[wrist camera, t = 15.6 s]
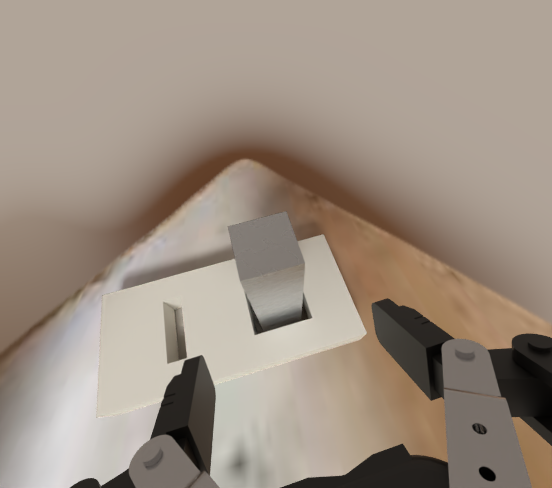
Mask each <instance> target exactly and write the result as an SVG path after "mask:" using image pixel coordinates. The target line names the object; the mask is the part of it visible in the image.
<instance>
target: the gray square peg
mask: <svg viewBox="0 0 552 488" xmlns="http://www.w3.org/2000/svg"><path fill="white" fill-rule="evenodd" d="M228 230H229V234H230V239H231V243H232V248H233V252H234V257H235V261H236V266H237V270H238V275H239V279H240V282H241V285H242V287H243V289H244V291H245V293H246V295H247V297H248V299H249V301H250V303H251V306H252V308H253V310H254V312H255V314H256V316H257V318H258V320H259V322H260V324H261V326H262V329H263V331H264V332H265V331H269V330H272V329H275V328H279V327H282V326H286V325H289V324H292V323H296V322H299V321H301V315H302V302H303V288H304V274H305V261H304V258H303V255H302V253H301V250H300V247H299V245H298V242H297V239H296V236H295V234H294V231H293V228H292V225H291V223H290V220H289V217H288V215H287V212H286V211H285V212H281V213H278V214H274V215H270V216H266V217H262V218H258V219H255V220H251V221H247V222H243V223H239V224H236V225H232V226H228Z"/></svg>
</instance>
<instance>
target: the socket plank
mask: <svg viewBox="0 0 552 488" xmlns="http://www.w3.org/2000/svg"><path fill="white" fill-rule="evenodd" d="M297 242H298V245H299V247H300V250H301V253H302V255H303V258H304V261H305V274H304V288H303V304H304V307H305V309H306V312H307V315H308V318H309V319H307V320H304V321H300V322H297V323H294V324H291V325H287V326H284V327H281V328H277V329H274V330H271V331H267V332H264V333H261V334H257V333H256V329H255V324H254V320H253V316H252V312H251V308H250V303H249V299H248V297H247V295H246V293H245V291H244V289H243V287H242V285H241V282H240V279H239V275H238V270H237V266H236V261H235V259H232V260H228V261H224V262H221V263H217V264H214V265H210V266H206V267H203V268H199V269H196V270H192V271H188V272H185V273H181V274H177V275H174V276H170V277H167V278H163V279H159V280H156V281H152V282H148V283H145V284H141V285H138V286H134V287H130V288H127V289H123V290H119V291H116V292H112V293H109V294H105V295H102V308H101V329H100V350H99V371H98V393H97V414H96V418H98V417H108V416H117V415H121V414H124V413H127V412H130V411H133V410H137V409H140V408H143V407H146V406H149V405H153V404H156V403H159V402H162V400H163V399H164V394H165V390H166V387H167V385H168V384H169V383H170V381H171V380H172V378H173V377H174V376H175V375H179V374H181V371H182V367H183V363H184V361H185V360H187V359H190V358H193V357H197V356H200V355H202V356H203V357H204V359H205V362H206V364H207V367H208V370H209V372H210V375H211V378H212V381H213V383H214V385H217V384H220V383H223V382H226V381H229V380H232V379H236V378H239V377H242V376H245V375H248V374H252V373H255V372H258V371H261V370H264V369H268V368H271V367H274V366H277V365H280V364H284V363H287V362H290V361H293V360H296V359H300V358H303V357H306V356H309V355H312V354H316V353H319V352H322V351H325V350H328V349H332V348H335V347H338V346H341V345H344V344H348V343H351V342H354V341H357V340H360V339H361V338H362V337H363V336H365V335H366V334H367V333H366V330H365V328H364V326H363V323H362V321H361V319H360V316H359V314H358V312H357V310H356V307H355V305H354V303H353V300H352V298H351V296H350V294H349V291H348V289H347V287H346V284H345V282H344V280H343V278H342V275H341V273H340V271H339V268H338V266H337V264H336V262H335V259H334V257H333V255H332V252H331V250H330V248H329V246H328V243H327V241H326V239H325V236H324V234H322V235H319V236H315V237H311V238H308V239H304V240H300V241H297ZM179 308H182V314H183V323H184V333H185V342H186V352H187V358H186V359H182V360H179V354H178V343H177V332H176V321H175V311H174V310H175V309H179Z"/></svg>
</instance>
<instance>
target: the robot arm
mask: <svg viewBox="0 0 552 488" xmlns="http://www.w3.org/2000/svg"><path fill="white" fill-rule="evenodd" d="M372 313H373V319H374V325H375V331H376V335H377V338H378V340H379V342H380V343H381V345H382V346H383V347H384V348H385V349H386V351H387V352H388V353H389V354H390V355H391V356H392V357H393V358H394V360H395V361H396V362H397V363H398V364H399V365H400V366H401V367H402V369H403V370H404V371H405V372H406V373H407V374H408V375H409V376H410V378H411V379H412V380H413V381H414V382H415V383H416V384H417V385H418V387H419V388H420V389H421V390H422V391H423V392H424V393H425V394H426V396H427V397H428V398H429V399H430V400H431V401H432V400H434V399H437V398H440V397H442V398H443V399H444V403H445V420H446V436H447V453H448V463H447V462H445V461H442V460H439V459H436V458H433V457H428V456H421V455H410V454H409V453H408V451H407V450H406V448H405V446H404V445H403V444H400V445H398V446H395V447H392V448H389V449H387V450H384V451H381V452H378V453H376V454H373V455H371V456H370V457H369V458H367V459H366V460H365V461H363V462H362V463H361V464H359V465H358V466H357V467H355V468H354V469H353V470H351V471H350V472H349V473H347V474H346V475H343V476H330V477H313V478H306V479H303V480H301V481H298V482H295V483H292V484H290V485H287V486H284V487H281V488H532V486H531V483H530V479H529V476H528V472H527V469H526V465H525V462H524V459H523V455H522V452H521V448H520V445H519V441H518V438H517V434H516V431H515V427H514V424H513V421H512V417H520V418H521V419H522V420H524V421H525V422H526V423H527V424H528V425H529V426H530V427H531V428H532V429H534V430H535V431H536V432H537V433H538V434H539V435H540V436H541V437H542V438H543V439H545V440H546V441H547V442H548V443H549V444H550V445H551V446H552V338H550V337H547V336H543V335H538V334H521V335H517V336H515V337H514V338H513V339H512V348H508V349H492V350H487V349H486V348H485V347H483V346H482V345H480V344H479V343H476V342H474V341H471V340H466V339H454V338H453V337H452V336H450V335H449V334H448V333H446V332H445V331H443V330H442V329H441V328H439V327H438V326H436V325H435V324H434V323H432V322H430V320H428V319H427V318H425V317H423V315H421V314H420V313H419V312H417V311H416V310H414V309H412V308H409V307H406V306H398V305H396V304H395V303H394V302H393V301H391V300H390V299H384V300H381V301H378V302H375V303H372ZM215 399H216V395H215V387H214V383H213V381H212V378H211V375H210V372H209V370H208V367H207V364H206V362H205V359H204V357H203V356H202V355H200V356H197V357H193V358H190V359H187V360H185V361H184V363H183V367H182V371H181V374H179V375H175V376H174V377H173V378H172V380H171V381H170V383H169V384H168V385H167V387H166V390H165V394H164V399H163V400H162V403H161V408H160V410H159V413H158V416H157V419H156V422H155V426H154V429H153V432H152V435H151V438H150V440H149V441H148V442H146V443H145V444H144V445H143V446H142V447H141V448H140V449H139V450H138V451H137V452H136V454H135V455H134V457H133V458H132V461H131V463H130V466H129V469H127V470H126V471H125V472H123V473H122V474H120V475H118V476H117V477H115V478H114V479H112V480H110V481H109V482H107V483H106V484H104V485H102V486H100V484H99V482H98V481H97V480H96V479H94V478H88V479H84V480H82V481H80V482H78V483H76V484H74V485H73V486H72V487H70V488H219V486H218V485H217V484H216V483H215V482H214V481H213V479H212V478H211V477H210V466H211V453H212V439H213V426H214V413H215Z"/></svg>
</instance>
